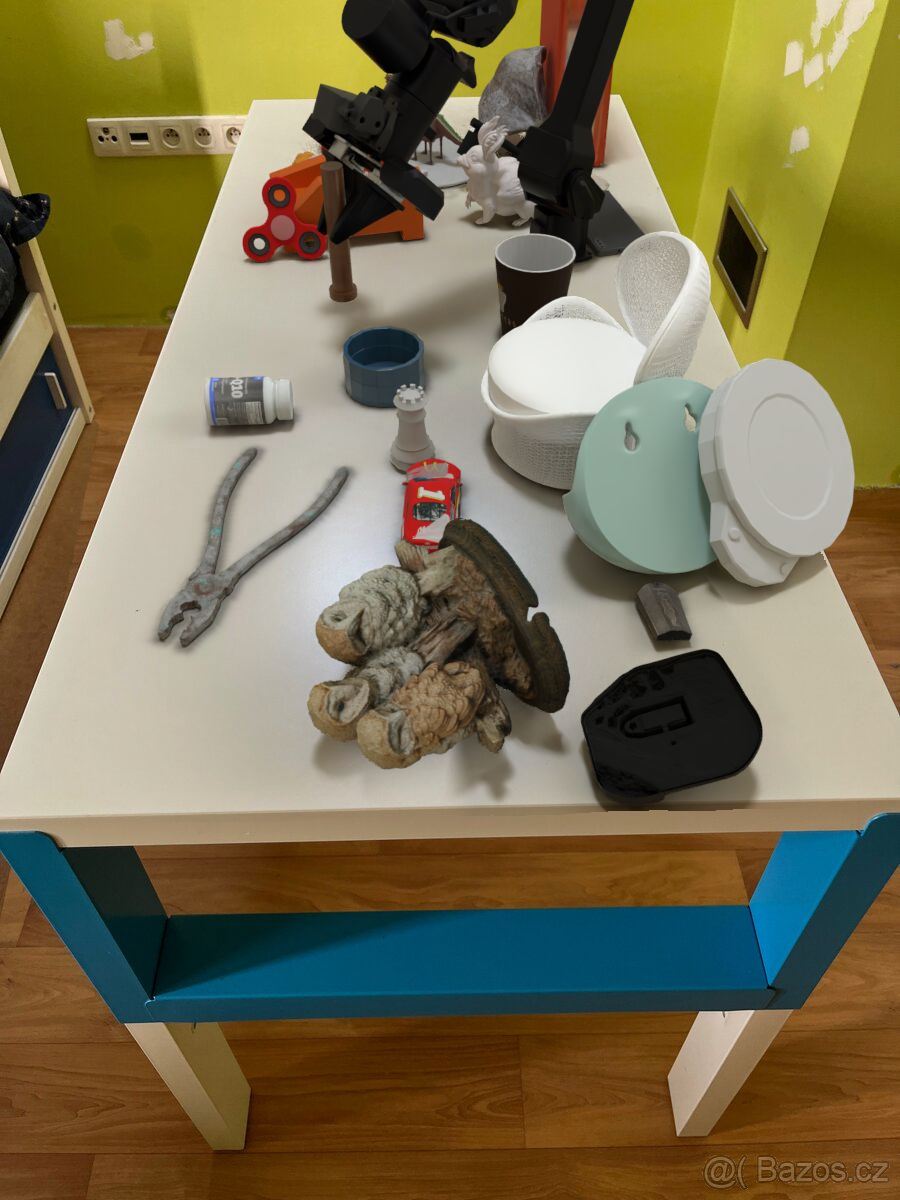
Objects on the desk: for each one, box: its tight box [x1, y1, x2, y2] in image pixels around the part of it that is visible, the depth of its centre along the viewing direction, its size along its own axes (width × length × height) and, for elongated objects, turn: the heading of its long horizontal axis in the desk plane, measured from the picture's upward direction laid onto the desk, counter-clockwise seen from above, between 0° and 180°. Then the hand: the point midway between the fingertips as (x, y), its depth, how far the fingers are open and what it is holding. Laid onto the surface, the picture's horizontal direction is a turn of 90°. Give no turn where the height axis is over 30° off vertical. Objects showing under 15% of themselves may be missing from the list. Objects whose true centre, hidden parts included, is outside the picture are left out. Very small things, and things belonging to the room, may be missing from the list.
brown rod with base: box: [320, 161, 359, 304], centre depth 102 cm, size 3×3×14 cm
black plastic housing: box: [580, 648, 764, 807], centre depth 72 cm, size 12×10×5 cm
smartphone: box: [587, 189, 652, 257], centre depth 130 cm, size 7×1×15 cm
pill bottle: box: [203, 375, 294, 427], centre depth 100 cm, size 5×5×8 cm
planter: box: [561, 376, 719, 575], centre depth 86 cm, size 19×7×16 cm
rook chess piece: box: [389, 384, 437, 473], centre depth 94 cm, size 4×4×8 cm
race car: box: [400, 458, 463, 553], centre depth 89 cm, size 13×5×4 cm, turn 177°
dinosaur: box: [383, 73, 469, 188], centre depth 141 cm, size 18×18×11 cm
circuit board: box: [470, 126, 523, 154], centre depth 149 cm, size 8×8×1 cm
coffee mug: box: [494, 233, 576, 338], centre depth 110 cm, size 12×9×10 cm
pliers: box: [157, 446, 349, 646], centre depth 88 cm, size 11×1×25 cm
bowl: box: [342, 325, 426, 408], centre depth 104 cm, size 8×8×4 cm
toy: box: [241, 177, 328, 263], centre depth 122 cm, size 10×10×1 cm
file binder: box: [539, 0, 614, 167], centre depth 138 cm, size 8×17×32 cm, turn 4°
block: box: [634, 581, 693, 642], centre depth 81 cm, size 4×6×2 cm, turn 10°
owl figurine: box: [306, 516, 571, 770], centre depth 72 cm, size 18×12×17 cm
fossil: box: [477, 45, 549, 137], centre depth 141 cm, size 15×14×10 cm
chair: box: [480, 230, 712, 491], centre depth 91 cm, size 20×20×20 cm
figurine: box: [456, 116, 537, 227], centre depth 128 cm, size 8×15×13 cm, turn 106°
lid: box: [698, 357, 856, 588], centre depth 85 cm, size 17×20×3 cm
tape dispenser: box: [268, 153, 425, 255], centre depth 128 cm, size 18×13×8 cm
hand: (326, 237), depth 101 cm, fingers closed on brown rod with base, 2 cm apart
